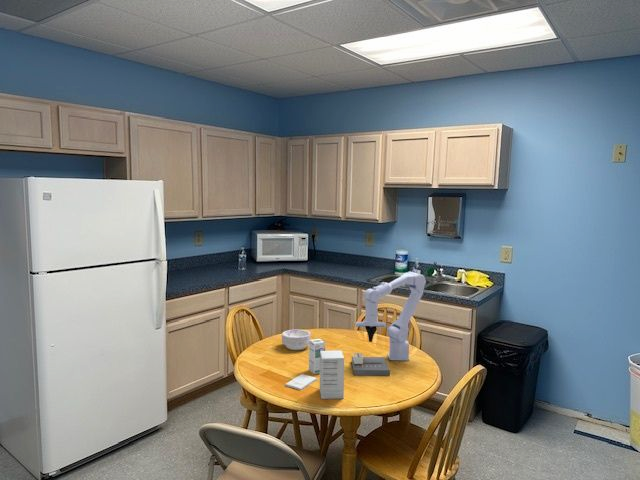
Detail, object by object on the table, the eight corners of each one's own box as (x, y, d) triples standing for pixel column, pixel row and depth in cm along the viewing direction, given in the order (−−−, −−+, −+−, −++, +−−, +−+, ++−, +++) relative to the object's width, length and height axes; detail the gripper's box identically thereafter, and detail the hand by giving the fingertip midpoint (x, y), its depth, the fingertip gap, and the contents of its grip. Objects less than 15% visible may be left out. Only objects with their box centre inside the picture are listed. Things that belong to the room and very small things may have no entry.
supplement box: (344, 399, 177) (344, 358, 175) (320, 399, 176) (321, 358, 174) (340, 388, 186) (341, 349, 185) (319, 388, 186) (319, 350, 184)
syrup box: (314, 374, 200) (314, 343, 199) (308, 369, 205) (308, 339, 204) (325, 372, 203) (325, 341, 201) (319, 367, 208) (319, 337, 206)
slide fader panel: (384, 362, 216) (384, 356, 216) (389, 375, 200) (389, 370, 200) (351, 361, 216) (351, 356, 216) (354, 375, 200) (354, 369, 200)
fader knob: (361, 360, 210) (362, 353, 210) (362, 364, 205) (363, 357, 205) (353, 360, 210) (353, 353, 210) (354, 364, 205) (354, 356, 205)
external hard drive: (316, 381, 194) (300, 391, 184) (301, 377, 199) (284, 387, 188) (316, 377, 194) (300, 388, 184) (301, 373, 199) (284, 383, 188)
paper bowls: (294, 340, 245) (294, 326, 245) (316, 346, 237) (316, 332, 236) (275, 348, 233) (275, 333, 232) (298, 354, 224) (298, 339, 223)
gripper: (385, 312, 218) (384, 338, 219) (355, 311, 218) (354, 338, 219) (387, 315, 211) (386, 343, 212) (356, 315, 210) (356, 343, 212)
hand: (370, 341), depth 215 cm, fingers closed
